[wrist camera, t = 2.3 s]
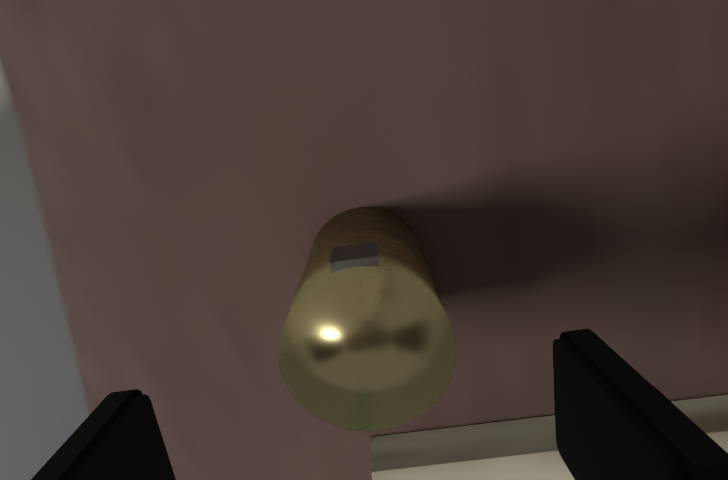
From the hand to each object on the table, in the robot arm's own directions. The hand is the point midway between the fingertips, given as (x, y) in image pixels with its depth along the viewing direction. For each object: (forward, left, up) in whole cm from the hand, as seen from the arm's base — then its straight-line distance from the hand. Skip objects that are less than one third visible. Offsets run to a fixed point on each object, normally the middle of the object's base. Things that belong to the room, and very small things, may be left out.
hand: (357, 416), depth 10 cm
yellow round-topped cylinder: (-1, 0, -8) cm, 8 cm away
